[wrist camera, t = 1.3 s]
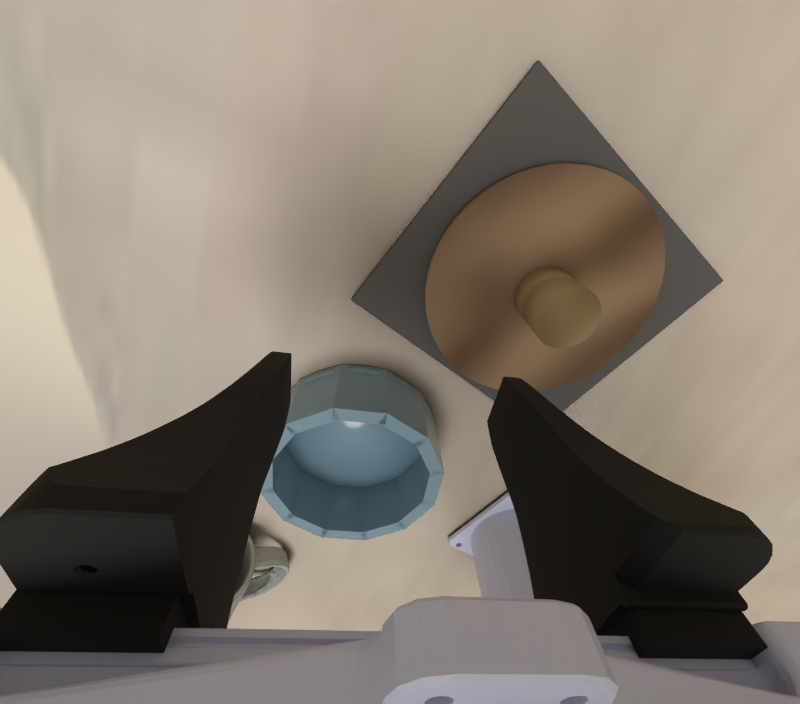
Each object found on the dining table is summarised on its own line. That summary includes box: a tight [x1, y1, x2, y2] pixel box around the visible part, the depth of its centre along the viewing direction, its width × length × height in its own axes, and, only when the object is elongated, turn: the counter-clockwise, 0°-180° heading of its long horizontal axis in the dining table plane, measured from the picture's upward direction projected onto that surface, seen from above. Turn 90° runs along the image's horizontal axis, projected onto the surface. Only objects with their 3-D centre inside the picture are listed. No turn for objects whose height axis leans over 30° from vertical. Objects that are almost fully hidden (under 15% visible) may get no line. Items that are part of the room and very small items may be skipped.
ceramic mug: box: [228, 535, 289, 621], centre depth 29 cm, size 11×8×8 cm
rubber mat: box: [352, 61, 723, 412], centre depth 22 cm, size 16×14×1 cm
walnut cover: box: [425, 163, 666, 391], centre depth 20 cm, size 13×13×4 cm
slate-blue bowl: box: [261, 364, 444, 540], centre depth 25 cm, size 11×11×4 cm
